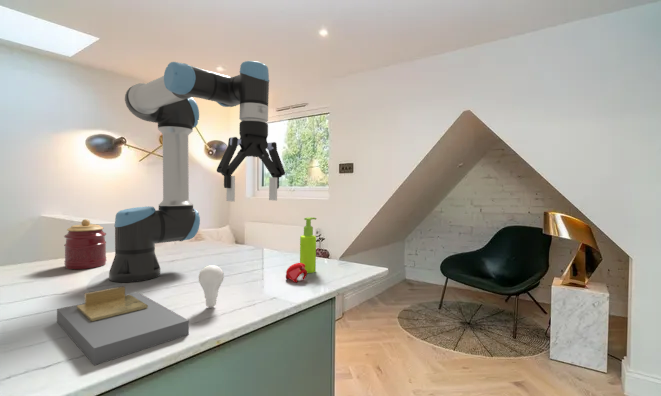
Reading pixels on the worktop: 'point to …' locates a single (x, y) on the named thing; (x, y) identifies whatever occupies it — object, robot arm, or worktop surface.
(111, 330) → the socket block
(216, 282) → the lightbulb
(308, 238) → the soap dispenser
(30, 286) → the worktop surface
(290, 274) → the cap
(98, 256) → the canister
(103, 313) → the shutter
